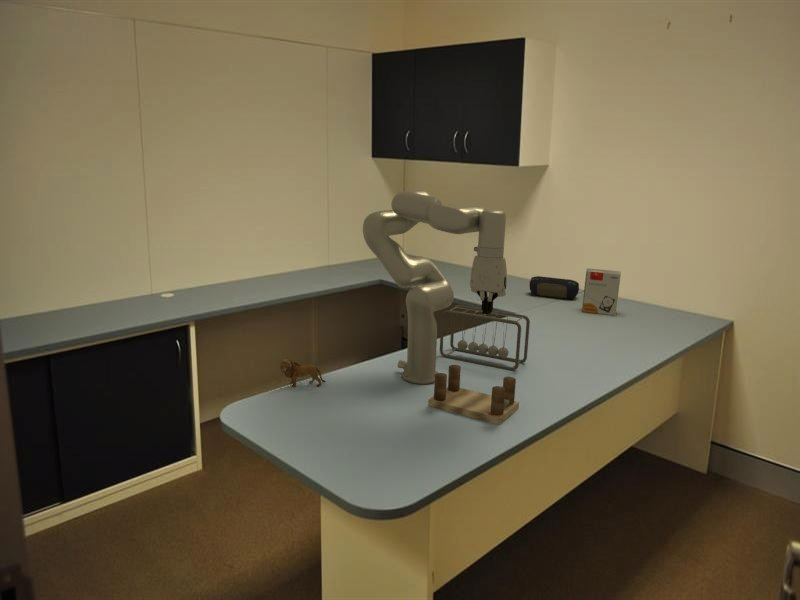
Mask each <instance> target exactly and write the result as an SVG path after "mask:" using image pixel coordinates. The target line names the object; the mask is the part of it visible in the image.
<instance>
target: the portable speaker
mask: <svg viewBox="0 0 800 600" xmlns="http://www.w3.org/2000/svg"><path fill="white" fill-rule="evenodd" d="M529 290H530V293H531V294H532V295H534V296H538V295H539V297H546V296H547V297H549V298H556V299H563V298H564V300H573V299H576V297H577V295H578V294H579V290H580V284H579V282H578V281H576V280H574V279H568V278H559V277H551V276H550V277H549V276H540V275H539V276H538V275H536V276H532V277H531V278H530V281H529Z"/></svg>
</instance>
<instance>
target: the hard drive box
mask: <svg viewBox="0 0 800 600" xmlns="http://www.w3.org/2000/svg"><path fill="white" fill-rule="evenodd" d="M621 276H622V273H621V271H619V270H610V269H608V270H607V269H599V268H588V267H587V268H586V271H585V280H584V289H583V299H582V307H581V312H582V313H589V314H598V315H600V314H601V315H605V314H608V315H607V316H616V314H617V306H618V299H619V298H618V297H619V290H620V283H621Z"/></svg>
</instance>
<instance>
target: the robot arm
mask: <svg viewBox="0 0 800 600" xmlns="http://www.w3.org/2000/svg"><path fill="white" fill-rule="evenodd" d="M506 221H507V214H506V212H505V211H503V210H499V209H489V208H485V207H481V206H468V207H466V206H465V207H451V206H447V205H446V206H445V205H443V203H442V200H440V198H438V197H437V196H436V197H435V196H431V195H430V194H429V193H428V192H426V191H425V190H422V189H421V190H420V189H418V190H404V191H400V192H398V193H396V194H395V195H394V196H393V198H392V200H391V209H385V210H379V211H374V212H372V213H369V214H368V215H367V216H366V217H365V219H364V220H363V224H362V234H363V239H364V242H365V243H366V246H367V247H368V248H369V250H370V251H371V252H372V253H373V254H374V255H375V257H376V258H378V259H377V260H379V262H380V263H381V264H382V265H383V267H384V269H385V270H386V271H387V273H388V274H389V276H390V277H391V278H392V280H393V281H394V283H396V285H397V286H398V287H400V288H403V289H408V288H410V289H409V290H408V292H407V293H406V297H405V305H406V306H405V307H406V311H407V352H406V353H407V356H406V358H407V360H402V359H399V360H398V362H397V368H399V369H403V372H401V373H402V374H401V377H402V379H403V380H404V381H406V382H408V383H412V384H416V385H417V384H419V385H428V384H434V383H435V374H436V373H439V372H438V371H436V370H437V369H436V366H437V365H436V364H437V346H438V344H437V343H438V342H437V341H438V324H437V319H436V318H435V312H438V311H440V310H441V311H442V310H444V309H447V308H448V307H451V305H452V304H453V302H454V298H455V296H454V295H455V294H454V290H453V288H452V285H451V284H450V283H449V282H448V280H447V279H446V277H445V276H444V275H443V273H442V272H441V271H440V269H439V268H438V267H437V266H436V264H435V263H434V262H433V261H432V260H431V259H429V258H428V257H425V256H416V257H415V256H414V257H411V256H409V254H407V253H406V251H405V250H404V248H403V247H402V245H400V243H398V242H397V241H396V240H394V239H392V238H391V237H390V236H395V235H402V234H405V233H407V232H409V231H410V230H412V228H415V226H416V225H417V224H419V223H423V224H426V225H429V226H430V227H432V228H433V229H435V230H437V231H441V232H444V233H448V234H453V235H462V234H471V233H478V237H477V238H478V239H477V240H478V241H477V246H474V247H473V252H476V255H474V257H473V261H472V266H471V271H470V279H469V287H470V291H471V292H472V293H474V294H477V295H478V296H479V298H480V301H481V307H480V308H481V309H482V312H481V315H486V316H487V315H489V314H491V312H492V310H494V300H495V299H497V298H500V297H506V295H507V293H506V289H507V286H508V285H507V282H508V279H507V278H508V275H507V271H508V270H507V261H506V257H504V253H505V252H504V251H505V239H506V238H505V236H506V225H507V224H506Z"/></svg>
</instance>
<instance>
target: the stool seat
mask: <svg viewBox="0 0 800 600" xmlns="http://www.w3.org/2000/svg"><path fill="white" fill-rule="evenodd" d="M461 369H462V367H461V365H459V364H450V365H448V375H447V374H446V373H443V372H438V373H436V374H435V382H434V383H433V384H434V385H433V387H434V388H433V396H431V397H430V398H429V399H428V401H427V403H428V404H427V406H428V407H432V408H435V409H439V410H444V411H447V412H451V413H453V414H454V413H455V414H458V415H462V416H466V417H469V418H472V419H476V420H481V421H484V422H487V423H492V424H495V425H501V424H502V423H504V422H505V421H506V420H507V419H508V418H510V416H511V415H513V414H514V413H516V412H517V410H519V409H520V408H519V406H520V402H519V401H516V400H514V403H512V404H508V405H507V406H506V407H505V408H504V411H503V414H493V413H491V398H492V394H487V393H483V392H480V391H476V390H475V391H474V390H470V389H467V388H463V387H460V386H461Z"/></svg>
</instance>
